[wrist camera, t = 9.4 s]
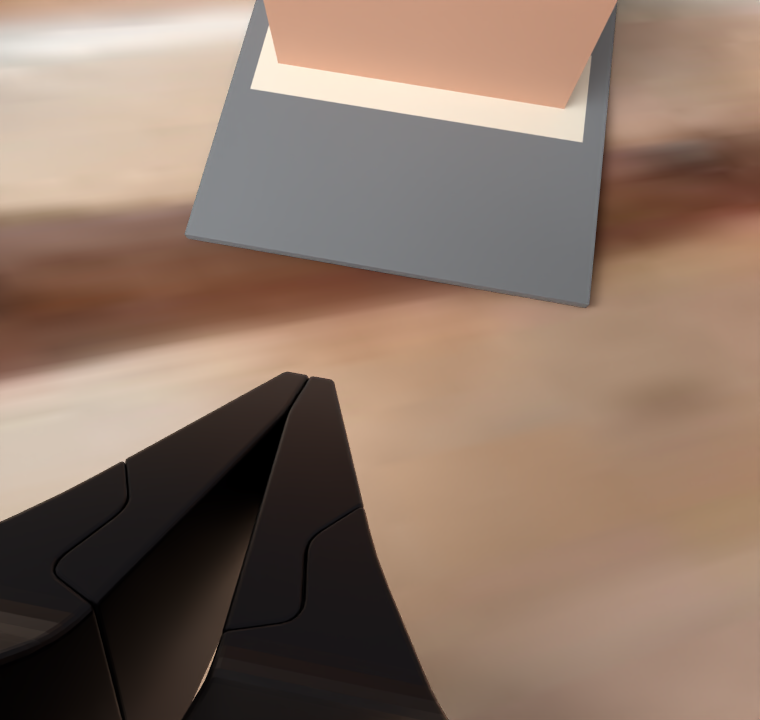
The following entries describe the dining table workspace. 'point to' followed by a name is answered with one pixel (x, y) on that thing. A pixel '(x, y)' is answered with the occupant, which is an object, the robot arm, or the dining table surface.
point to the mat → (408, 175)
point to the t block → (446, 42)
